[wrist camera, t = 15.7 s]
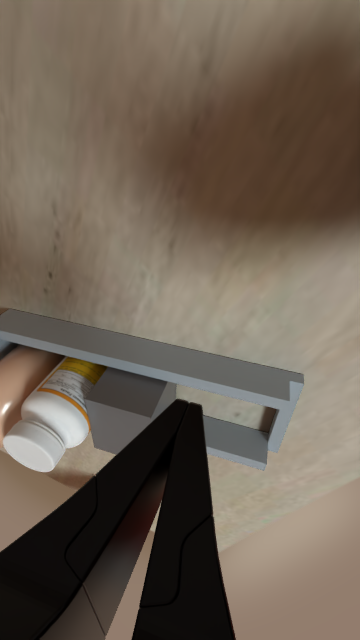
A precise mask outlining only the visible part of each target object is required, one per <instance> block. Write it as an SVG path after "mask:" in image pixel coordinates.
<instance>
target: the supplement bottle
mask: <svg viewBox="0 0 360 640" xmlns="http://www.w3.org/2000/svg"><path fill="white" fill-rule="evenodd" d="M108 367H109V366H105V365H101V364H97V363H93V362H89V361H85V360H81V359H77V358H73V357H69V356H66V357H65V358H64V359H63V360H62V361H61V362H60V363H59V364H58V365H57V366H56V367H55V368H54V369H53V371H52V372H51V373H50V374H49V375H48V376H47V377H46V378H45V379H44V380H43V381H42V382H41V383H40V384H39V385H38V386H37V388H36V389H35V390H34V391H33V392H32V393H31V394H30V395H29V396H28V397H27V398H26V400H25V401H24V403H23V405H22V408H21V417H22V420H20V421H18V422H17V423H16V424H15V425H14V426H13V427H12V428H11V430H10V431H9V432H8V433H7V434H6V435H5V437H4V438H3V445H4V448H5V449H6V451H7V452H8V453H9V454H10V455H11V456H12V457H13V458H14V459H15V460H17V461H18V462H20V463H21V464H23V465H24V466H26V467H29V468H30V469H33V470H36V471H40V472H49V471H51V470H53V468H54V467H55V466H56V464H57V463H58V462H59V460H60V459H61V457H62V455H63V454H64V453H65V448H72V447H75V446H77V445H79V444H80V443H82V442H83V440H84V439H85V438H86V436H87V435H88V433H89V432H90V430H91V428H90V423H89V418H88V413H87V408H86V403H85V398H86V397H87V395H88V394H89V392H90V391H91V390H92V388H93V387H94V386H95V384H96V383H97V382H98V380H99V379H100V377H101V376H102V375H103V373H104V372H105V371H106V369H107V368H108Z"/></svg>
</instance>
